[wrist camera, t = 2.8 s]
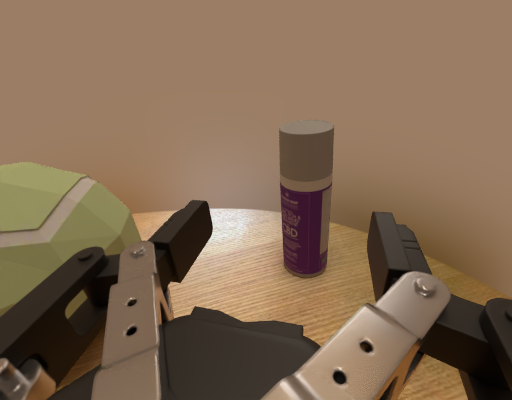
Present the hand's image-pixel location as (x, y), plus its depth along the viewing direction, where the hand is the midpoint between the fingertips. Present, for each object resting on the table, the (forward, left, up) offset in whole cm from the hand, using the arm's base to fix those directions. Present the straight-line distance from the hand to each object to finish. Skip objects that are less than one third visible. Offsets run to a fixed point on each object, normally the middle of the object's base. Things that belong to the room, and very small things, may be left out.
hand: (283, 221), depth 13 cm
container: (-3, -11, -13) cm, 18 cm away
